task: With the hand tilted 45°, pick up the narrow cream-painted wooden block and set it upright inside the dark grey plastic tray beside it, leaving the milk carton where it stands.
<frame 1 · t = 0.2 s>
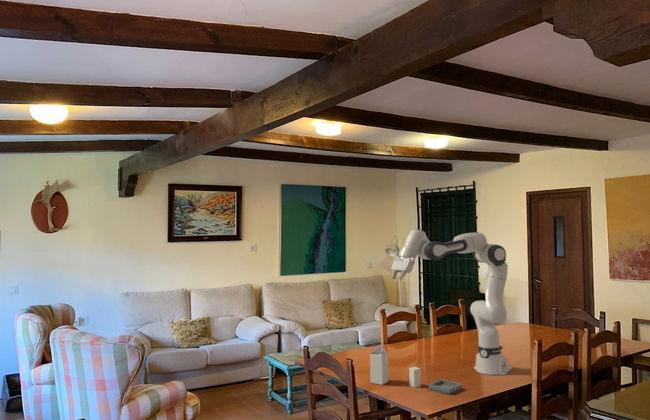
hand: (396, 279, 262), 54 cm above the table, tool tilted 30°, fingers open, 8 cm apart
cream block: (415, 385, 252), on the table
milk carton: (379, 382, 258), on the table
grey tray: (445, 389, 246), on the table
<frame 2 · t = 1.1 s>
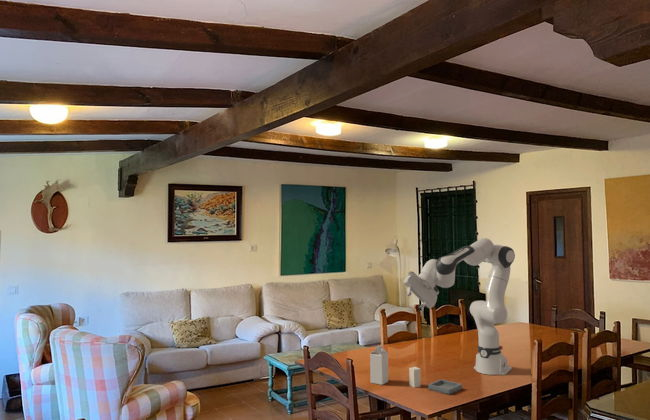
hand: (414, 301, 249), 44 cm above the table, tool tilted 50°, fingers open, 8 cm apart
nothing on the table moved.
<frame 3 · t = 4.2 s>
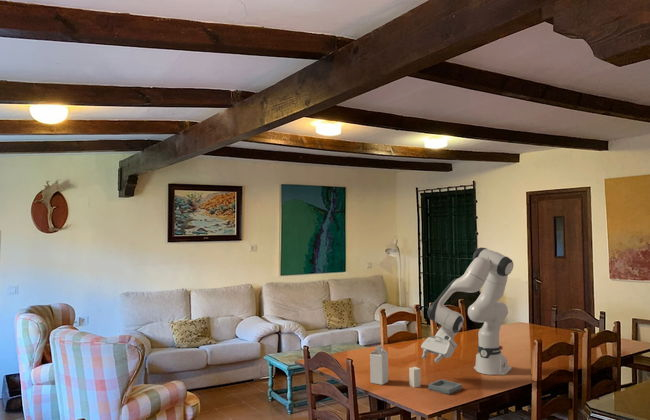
hand: (429, 359, 255), 12 cm above the table, tool tilted 45°, fingers open, 8 cm apart
nothing on the table moved.
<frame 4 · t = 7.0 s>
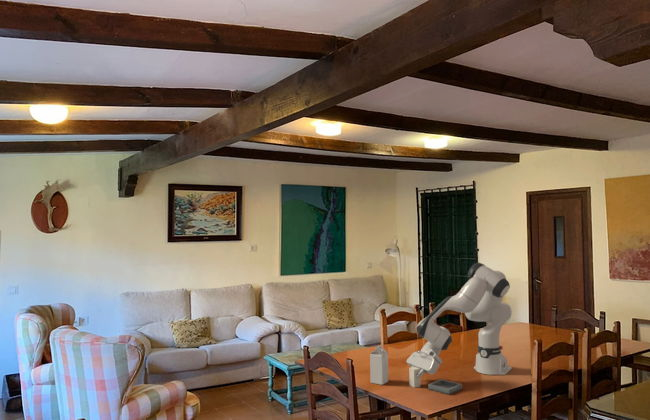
hand: (413, 375, 252), 5 cm above the table, tool tilted 45°, fingers closed on cream block, 4 cm apart
cream block: (415, 385, 252), on the table, touching gripper
everything else where it was.
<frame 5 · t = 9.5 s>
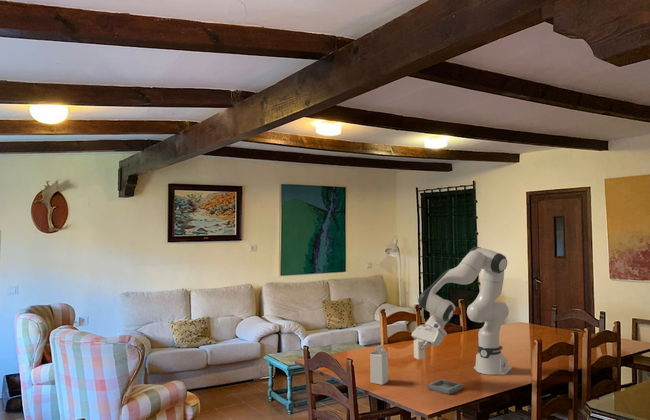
hand: (418, 348, 252), 19 cm above the table, tool tilted 45°, fingers closed on cream block, 4 cm apart
cream block: (419, 358, 252), point 14 cm above the table, touching gripper
everything else where it was.
when the fingers open (7 cm above the table, at t = 12.4 s): cream block drops 2 cm, resting on grey tray.
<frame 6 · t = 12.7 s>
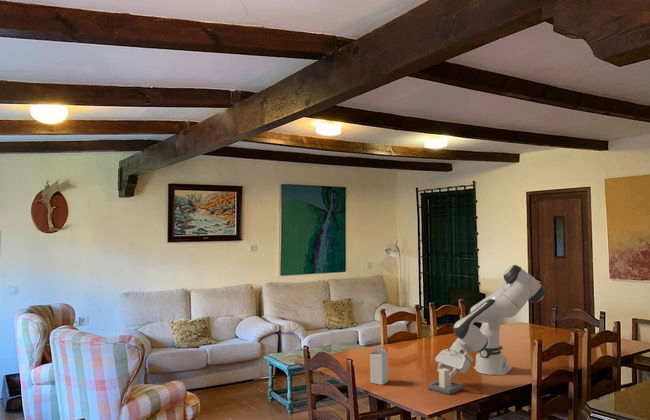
hand: (443, 374, 246), 7 cm above the table, tool tilted 45°, fingers open, 7 cm apart
cream block: (445, 387, 246), point 1 cm above the table, touching grey tray
everything else where it was.
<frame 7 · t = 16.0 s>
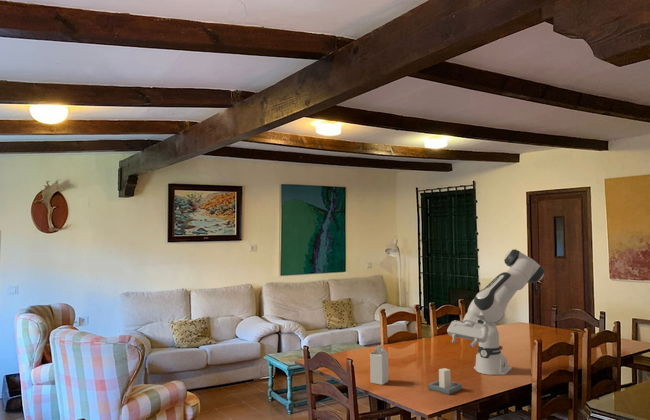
hand: (462, 344, 244), 23 cm above the table, tool tilted 50°, fingers open, 8 cm apart
nothing on the table moved.
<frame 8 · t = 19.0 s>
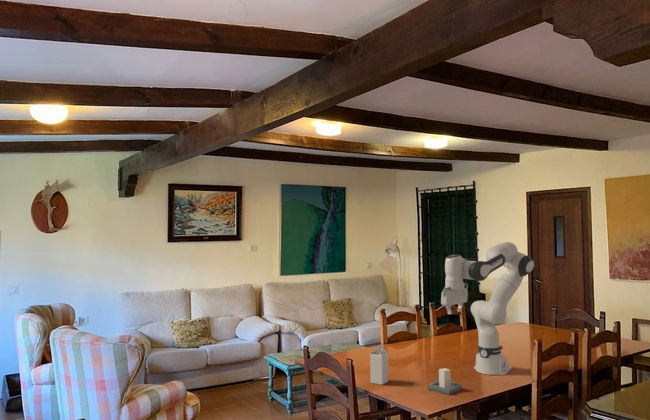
hand: (454, 312, 253), 37 cm above the table, tool pointing down, fingers open, 8 cm apart
nothing on the table moved.
at the end: cream block 0.0 cm off-centre on the grey tray, point 0.8 cm above the grey tray's base; cream block tilted 0°; the gripper is holding nothing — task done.
